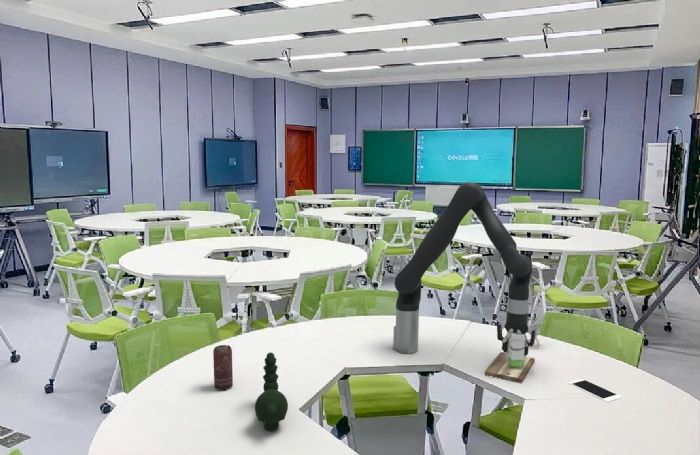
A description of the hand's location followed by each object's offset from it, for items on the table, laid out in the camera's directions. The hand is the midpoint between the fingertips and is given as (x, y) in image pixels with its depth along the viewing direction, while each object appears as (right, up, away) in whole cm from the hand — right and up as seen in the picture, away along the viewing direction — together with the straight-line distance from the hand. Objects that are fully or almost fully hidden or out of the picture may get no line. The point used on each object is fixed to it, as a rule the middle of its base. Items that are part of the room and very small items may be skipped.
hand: (514, 353), depth 196 cm
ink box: (0, -3, 0) cm, 3 cm away
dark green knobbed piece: (-84, -11, -37) cm, 93 cm away
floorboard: (-1, -6, +2) cm, 6 cm away
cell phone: (+22, -9, -16) cm, 29 cm away
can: (-104, -8, -16) cm, 105 cm away
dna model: (+14, -3, +24) cm, 28 cm away
